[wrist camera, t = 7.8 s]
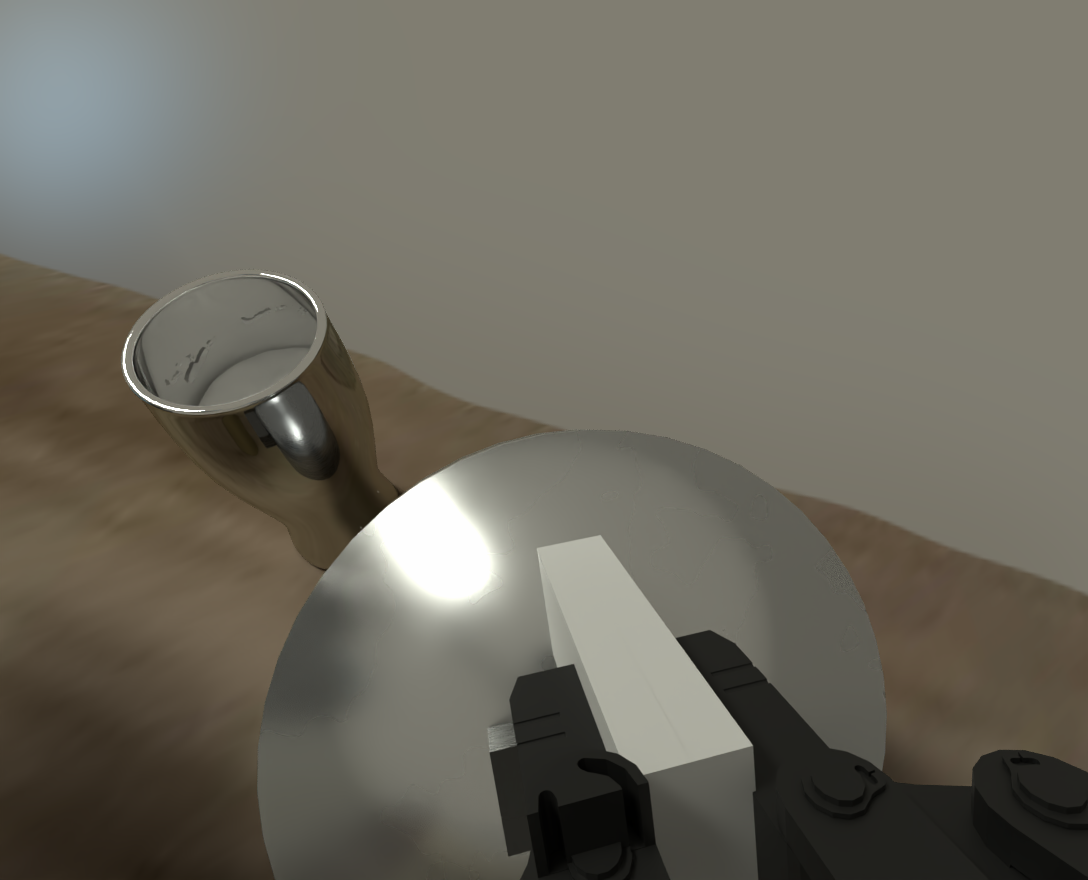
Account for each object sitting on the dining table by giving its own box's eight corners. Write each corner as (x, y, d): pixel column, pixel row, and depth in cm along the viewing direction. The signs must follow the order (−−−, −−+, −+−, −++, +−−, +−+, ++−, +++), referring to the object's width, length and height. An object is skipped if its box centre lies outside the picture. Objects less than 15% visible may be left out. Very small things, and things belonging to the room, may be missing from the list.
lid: (892, 935, 16) (959, 1014, 14) (344, 1117, 14) (321, 1244, 12) (812, 385, 15) (869, 378, 13) (217, 489, 13) (168, 502, 11)
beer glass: (270, 579, 29) (73, 418, 17) (301, 465, 33) (159, 262, 20) (402, 580, 29) (306, 420, 17) (418, 466, 33) (349, 265, 21)
